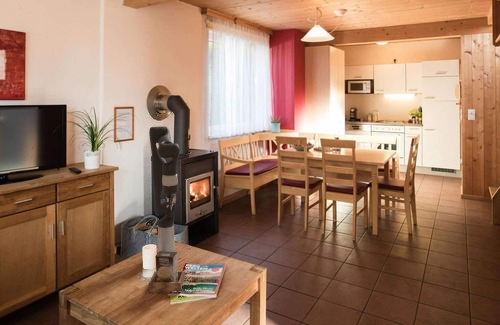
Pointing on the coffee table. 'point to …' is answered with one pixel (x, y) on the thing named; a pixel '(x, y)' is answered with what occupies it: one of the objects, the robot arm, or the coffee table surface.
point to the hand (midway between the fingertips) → (171, 214)
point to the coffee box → (166, 266)
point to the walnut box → (166, 284)
